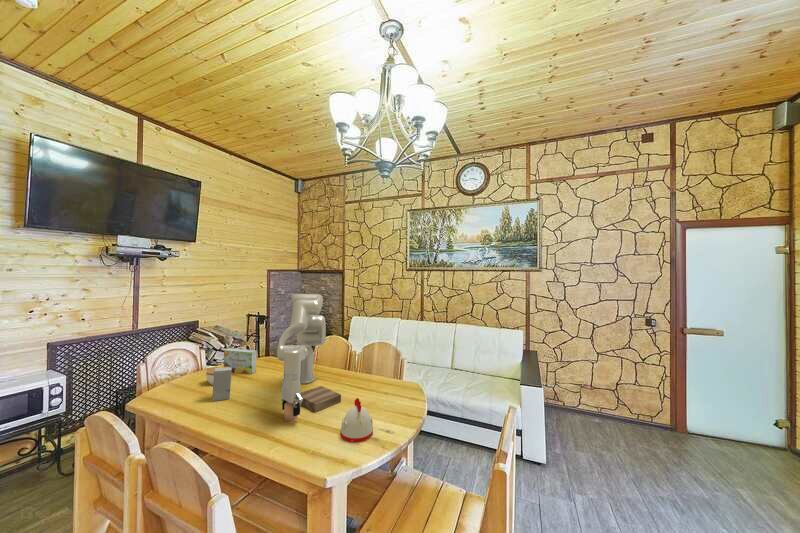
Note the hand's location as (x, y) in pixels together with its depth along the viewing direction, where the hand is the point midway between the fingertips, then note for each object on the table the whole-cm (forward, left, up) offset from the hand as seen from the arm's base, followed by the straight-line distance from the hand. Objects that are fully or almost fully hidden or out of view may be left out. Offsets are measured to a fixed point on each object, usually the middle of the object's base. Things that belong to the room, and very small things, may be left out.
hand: (290, 412), depth 142 cm
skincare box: (-47, -13, -3) cm, 49 cm away
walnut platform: (-5, +19, -3) cm, 20 cm away
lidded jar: (-72, -7, -3) cm, 73 cm away
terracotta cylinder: (0, 0, -3) cm, 3 cm away
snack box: (-82, +11, -3) cm, 83 cm away
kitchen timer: (+33, +12, -3) cm, 35 cm away
